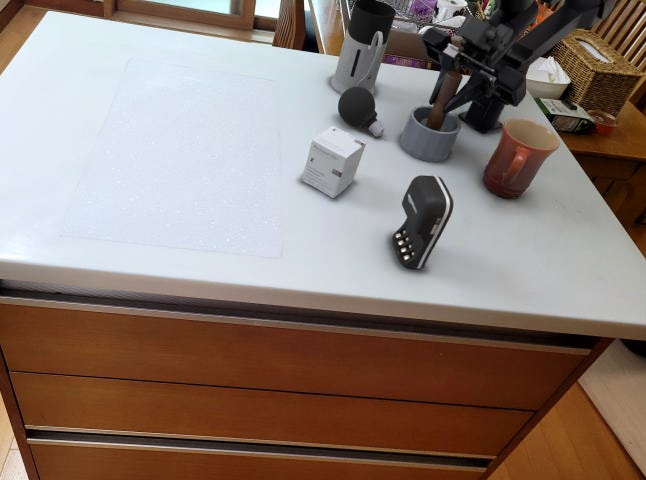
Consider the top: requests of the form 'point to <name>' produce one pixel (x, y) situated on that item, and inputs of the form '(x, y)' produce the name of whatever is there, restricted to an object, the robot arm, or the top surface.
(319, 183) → the white cardboard box
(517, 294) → the top surface
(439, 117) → the brown wooden pestle
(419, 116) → the grey stone mortar
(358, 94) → the light bulb
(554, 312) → the top surface
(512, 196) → the mug
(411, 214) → the battery charger
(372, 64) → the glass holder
